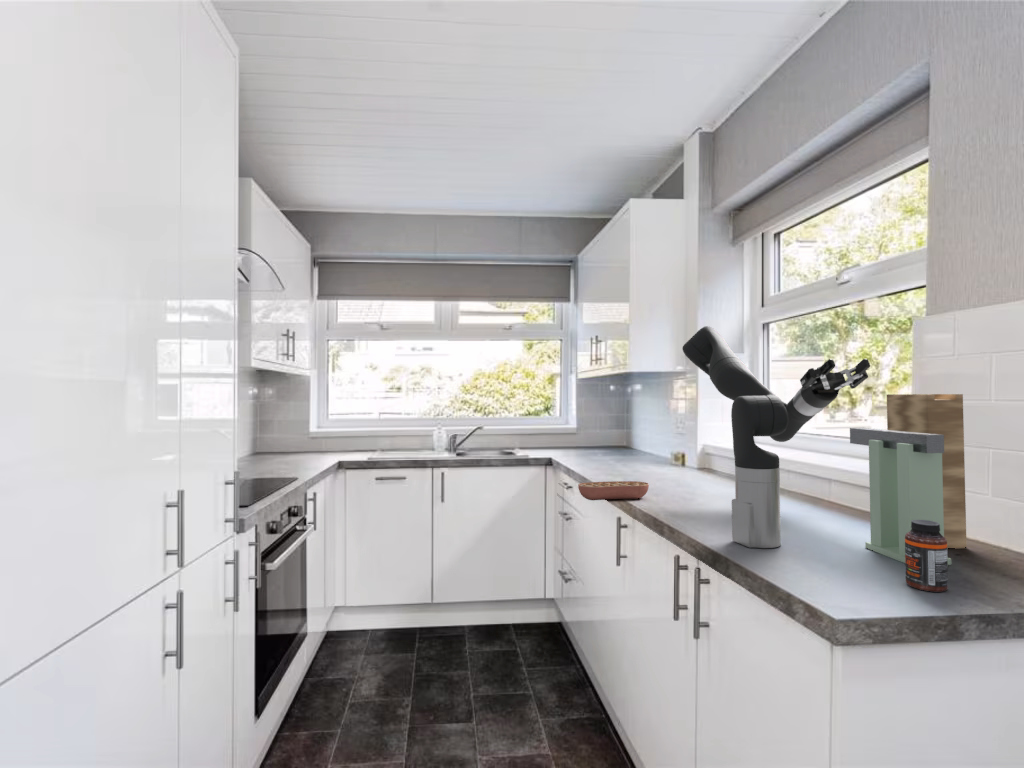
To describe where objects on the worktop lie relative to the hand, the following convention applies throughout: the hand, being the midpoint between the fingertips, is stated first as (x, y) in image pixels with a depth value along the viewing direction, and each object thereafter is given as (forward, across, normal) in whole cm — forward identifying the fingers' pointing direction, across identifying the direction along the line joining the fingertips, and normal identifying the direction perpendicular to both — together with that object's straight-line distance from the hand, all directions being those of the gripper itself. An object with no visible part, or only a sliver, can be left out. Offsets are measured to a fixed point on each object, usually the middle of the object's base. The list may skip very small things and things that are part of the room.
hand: (850, 362), depth 131 cm
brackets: (-7, 0, +43) cm, 44 cm away
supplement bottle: (+8, -11, +52) cm, 54 cm away
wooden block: (-15, +13, +38) cm, 43 cm away
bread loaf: (-66, -44, +10) cm, 80 cm away
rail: (+2, 0, +23) cm, 23 cm away
